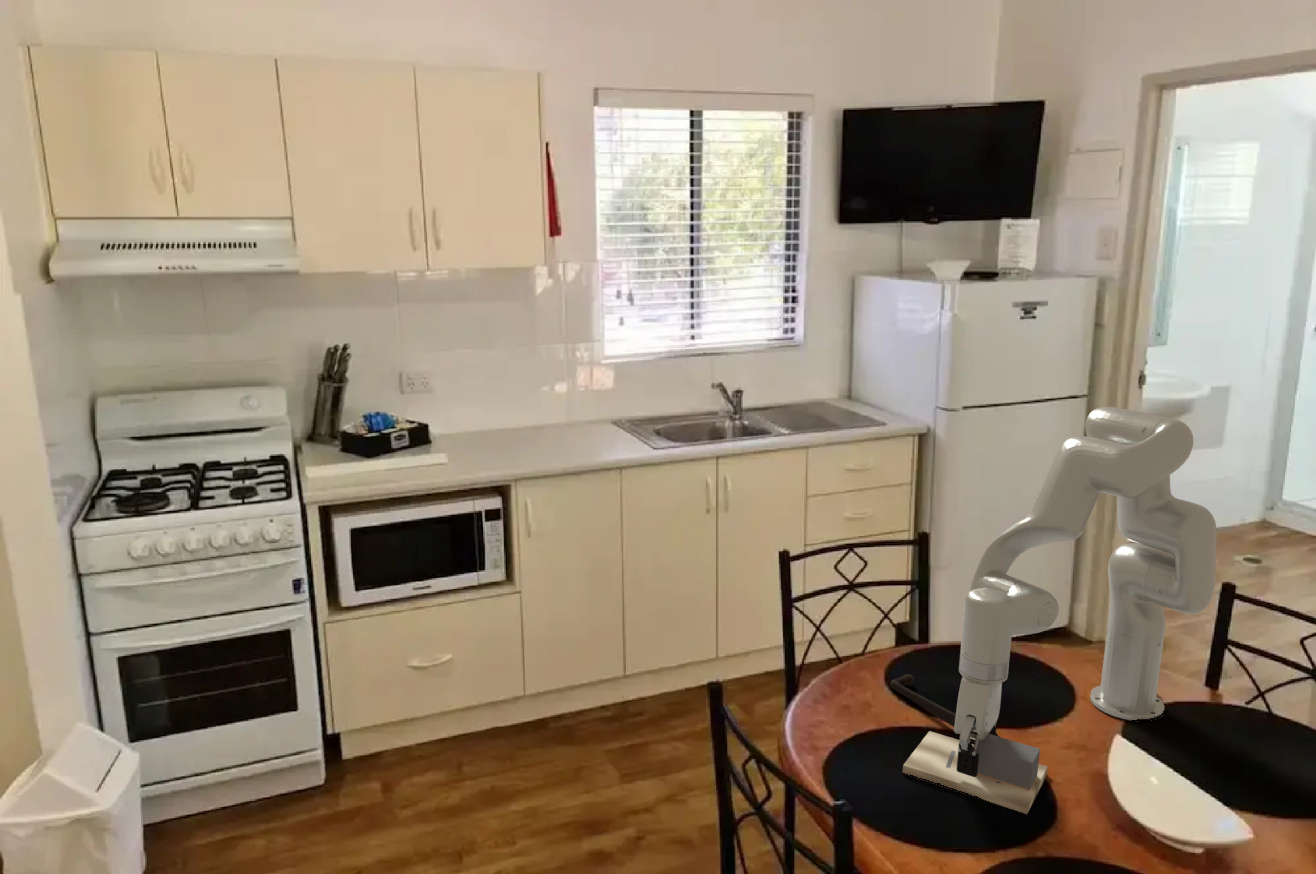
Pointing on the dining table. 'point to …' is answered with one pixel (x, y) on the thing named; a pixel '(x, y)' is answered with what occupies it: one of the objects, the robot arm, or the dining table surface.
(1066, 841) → the dining table surface
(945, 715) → the wrench
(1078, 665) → the dining table surface
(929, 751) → the board
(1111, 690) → the robot arm
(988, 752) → the block
